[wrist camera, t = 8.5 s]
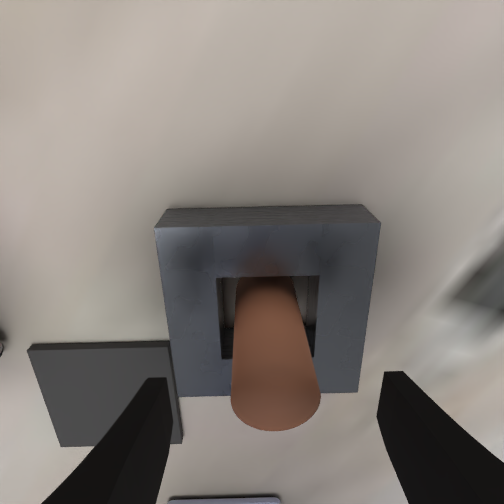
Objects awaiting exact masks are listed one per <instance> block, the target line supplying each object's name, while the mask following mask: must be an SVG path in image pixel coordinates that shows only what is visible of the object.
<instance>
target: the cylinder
mask: <svg viewBox="0 0 504 504" xmlns="http://www.w3.org/2000/svg"><path fill="white" fill-rule="evenodd" d="M320 398H321V394H320V389H319V385H318V381H317V377H316V373H315V369H314V365H313V361H312V357H311V353H310V349H309V345H308V341H307V337H306V333H305V329H304V325H303V321H302V317H301V313H300V309H299V305H298V301H297V297H296V293H295V289H294V285H293V282H292V280H291V278H290V277H289V276H270V277H241V278H240V280H239V281H238V284H237V287H236V301H235V321H234V341H233V361H232V382H231V405H232V408H233V411H234V413H235V414H236V415H237V417H238V418H239V419H240V420H241V421H243V422H244V423H245V424H247V425H249V426H251V427H253V428H256V429H260V430H265V431H283V430H288V429H291V428H294V427H297V426H299V425H301V424H303V423H304V422H306V421H307V420H308V419H310V418H311V417H312V416H313V415H314V413H315V412H316V410H317V409H318V406H319V404H320Z"/></svg>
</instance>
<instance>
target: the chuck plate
mask: <svg viewBox="0 0 504 504" xmlns="http://www.w3.org/2000/svg"><path fill="white" fill-rule="evenodd" d="M380 226H381V222H380V221H379V220H378V219H377V218H376V217H375V216H373V215H372V214H371V213H370V212H369V211H368V210H367V209H366V208H365V207H364V206H363V205H321V206H278V207H235V208H192V209H167V210H166V211H165V213H164V214H163V216H162V217H161V218H160V220H159V221H158V223H157V224H156V226H155V227H154V232H155V239H156V246H157V253H158V260H159V267H160V274H161V281H162V288H163V295H164V302H165V309H166V316H167V323H168V330H169V337H170V344H171V351H172V358H173V365H174V372H175V379H176V386H177V393H178V397H197V396H231V382H232V361H233V341H234V328H224V313H223V297H222V281H221V278H228V277H270V276H309V279H308V298H307V317H306V326H304V329H305V333H306V337H307V341H308V345H309V349H310V353H311V357H312V361H313V365H314V369H315V373H316V377H317V381H318V385H319V389H320V393H352V392H358V385H359V378H360V371H361V364H362V356H363V349H364V342H365V335H366V327H367V320H368V313H369V306H370V298H371V291H372V284H373V277H374V269H375V262H376V255H377V247H378V240H379V233H380Z"/></svg>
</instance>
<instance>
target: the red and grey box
mask: <svg viewBox="0 0 504 504" xmlns="http://www.w3.org/2000/svg"><path fill="white" fill-rule="evenodd" d="M2 352H3V346H2V344H1V342H0V357H1V355H2Z"/></svg>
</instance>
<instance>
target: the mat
mask: <svg viewBox="0 0 504 504" xmlns="http://www.w3.org/2000/svg"><path fill="white" fill-rule="evenodd" d="M27 352H28V355H29V358H30V361H31V364H32V367H33V370H34V372H35V375H36V378H37V381H38V384H39V387H40V389H41V392H42V395H43V398H44V401H45V404H46V406H47V409H48V412H49V415H50V418H51V421H52V423H53V426H54V429H55V432H56V435H57V438H58V440H59V443H60V446H61V447H81V446H96V445H97V443H98V442H99V441H100V440H101V439H102V438H103V436H104V435H105V434H106V433H107V431H108V430H109V429H110V427H111V426H112V425H113V424H114V422H115V421H116V420H117V419H118V417H119V416H120V415H121V413H122V412H123V411H124V409H125V408H126V407H127V405H128V404H129V403H130V401H131V400H132V398H133V397H134V396H135V394H136V393H137V391H138V390H139V389H140V387H141V386H142V384H143V383H144V381H145V380H146V379H147V378H152V377H167V383H168V390H169V396H170V402H171V409H172V415H173V428H172V435H171V442H170V444H182V440H183V432H182V425H181V418H180V411H179V404H178V397H177V390H176V383H175V376H174V369H173V362H172V355H171V348H170V341H156V342H116V343H76V344H36V345H31V346H30V348H29V349H28V350H27Z"/></svg>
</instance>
